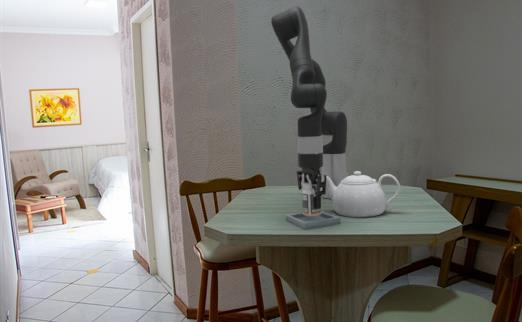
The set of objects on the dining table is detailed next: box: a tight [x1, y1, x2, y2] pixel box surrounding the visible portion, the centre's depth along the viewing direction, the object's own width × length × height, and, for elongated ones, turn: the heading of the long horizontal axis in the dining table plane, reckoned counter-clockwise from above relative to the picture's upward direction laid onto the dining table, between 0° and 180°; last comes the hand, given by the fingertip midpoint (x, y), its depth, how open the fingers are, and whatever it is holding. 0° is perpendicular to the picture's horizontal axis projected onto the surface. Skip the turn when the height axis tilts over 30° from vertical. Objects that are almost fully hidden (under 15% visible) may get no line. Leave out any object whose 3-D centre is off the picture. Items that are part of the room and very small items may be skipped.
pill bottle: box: [301, 182, 322, 216], centre depth 129 cm, size 6×6×10 cm
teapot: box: [326, 170, 401, 218], centre depth 139 cm, size 19×18×14 cm
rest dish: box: [285, 210, 341, 230], centre depth 129 cm, size 12×12×2 cm
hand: (311, 206), depth 129 cm, fingers closed on pill bottle, 5 cm apart
